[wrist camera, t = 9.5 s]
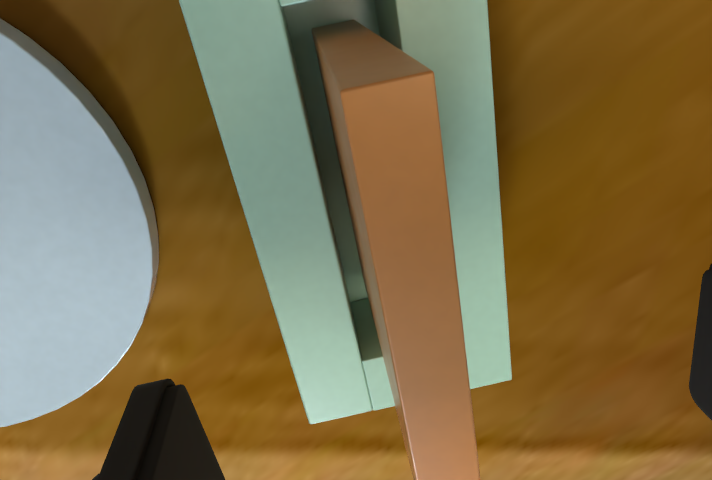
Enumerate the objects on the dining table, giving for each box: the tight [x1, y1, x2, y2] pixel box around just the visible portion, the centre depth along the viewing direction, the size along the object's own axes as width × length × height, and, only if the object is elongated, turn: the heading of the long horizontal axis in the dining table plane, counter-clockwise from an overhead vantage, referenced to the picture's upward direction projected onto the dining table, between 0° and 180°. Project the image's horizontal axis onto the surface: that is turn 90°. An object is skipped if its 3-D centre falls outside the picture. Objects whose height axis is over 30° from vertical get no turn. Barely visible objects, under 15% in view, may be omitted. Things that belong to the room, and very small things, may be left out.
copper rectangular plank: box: [312, 20, 480, 480], centre depth 15 cm, size 2×10×11 cm, turn 10°
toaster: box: [179, 0, 512, 424], centre depth 19 cm, size 8×17×4 cm, turn 10°
